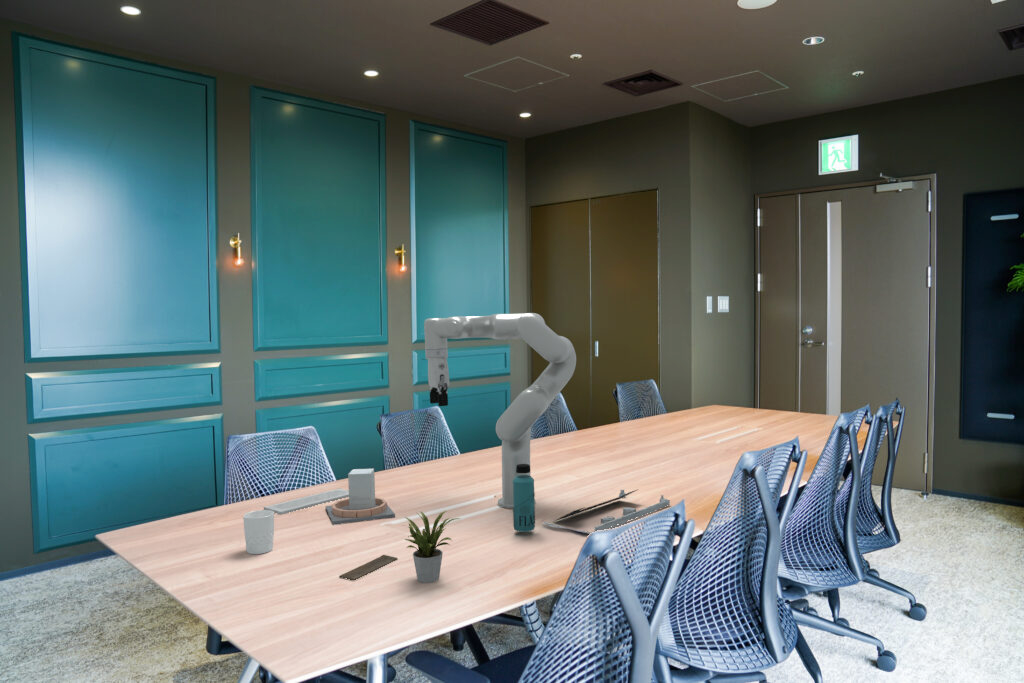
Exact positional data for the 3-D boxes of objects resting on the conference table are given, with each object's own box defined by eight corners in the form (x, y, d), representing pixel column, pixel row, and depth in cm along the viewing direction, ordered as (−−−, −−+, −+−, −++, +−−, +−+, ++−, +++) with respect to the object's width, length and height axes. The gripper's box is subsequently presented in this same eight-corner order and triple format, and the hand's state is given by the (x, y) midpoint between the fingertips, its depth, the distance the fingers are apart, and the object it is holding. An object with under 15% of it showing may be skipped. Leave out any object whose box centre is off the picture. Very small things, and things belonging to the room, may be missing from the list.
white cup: (265, 543, 191) (264, 508, 191) (280, 549, 186) (279, 513, 186) (238, 551, 185) (237, 514, 185) (254, 557, 180) (253, 519, 180)
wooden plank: (354, 578, 162) (338, 573, 165) (354, 583, 162) (338, 578, 165) (398, 557, 177) (382, 553, 179) (397, 562, 177) (382, 558, 179)
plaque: (280, 512, 220) (263, 507, 226) (280, 516, 220) (263, 511, 226) (356, 492, 243) (339, 488, 250) (357, 496, 244) (339, 492, 250)
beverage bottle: (516, 538, 192) (515, 467, 192) (510, 531, 199) (509, 463, 198) (538, 535, 194) (537, 466, 193) (531, 529, 200) (530, 461, 200)
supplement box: (376, 506, 224) (375, 468, 224) (371, 512, 217) (370, 473, 216) (353, 506, 224) (352, 468, 224) (348, 513, 217) (347, 473, 216)
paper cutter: (669, 507, 223) (669, 490, 223) (584, 540, 191) (584, 520, 191) (623, 497, 235) (623, 481, 235) (536, 527, 203) (536, 509, 203)
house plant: (464, 566, 171) (463, 501, 170) (462, 588, 157) (461, 517, 156) (407, 568, 170) (405, 503, 170) (400, 590, 156) (398, 519, 156)
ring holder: (395, 517, 215) (394, 507, 215) (333, 524, 208) (333, 514, 208) (383, 502, 233) (382, 493, 233) (325, 509, 226) (325, 500, 225)
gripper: (455, 354, 225) (457, 406, 226) (439, 353, 241) (441, 401, 241) (433, 355, 222) (435, 408, 223) (419, 354, 238) (421, 403, 238)
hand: (438, 404), depth 232 cm, fingers open, 9 cm apart
